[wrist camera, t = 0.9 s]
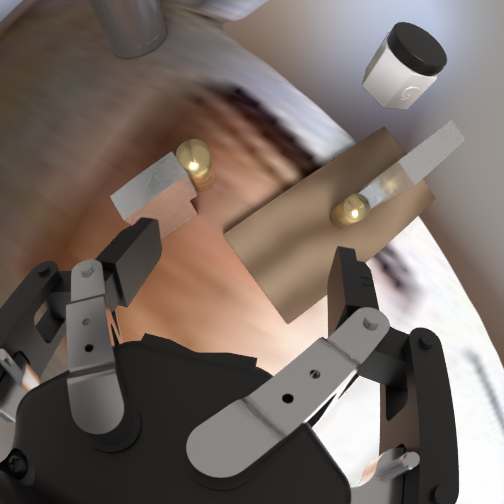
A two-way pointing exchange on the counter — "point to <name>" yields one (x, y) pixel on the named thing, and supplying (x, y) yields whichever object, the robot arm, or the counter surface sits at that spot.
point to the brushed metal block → (168, 188)
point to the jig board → (322, 225)
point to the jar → (403, 66)
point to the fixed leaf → (398, 176)
